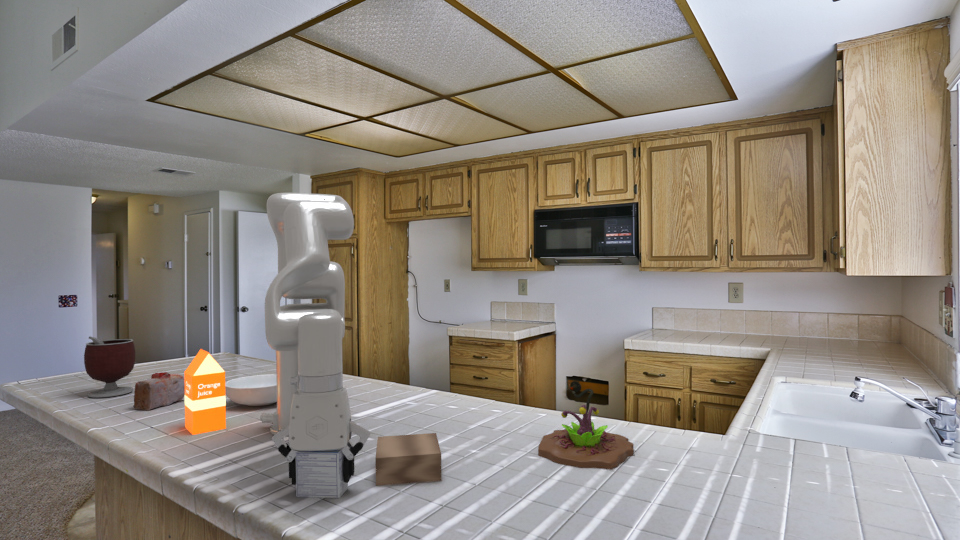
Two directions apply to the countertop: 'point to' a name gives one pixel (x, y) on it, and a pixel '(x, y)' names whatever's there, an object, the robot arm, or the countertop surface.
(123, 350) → the mate gourd
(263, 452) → the countertop surface
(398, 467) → the walnut block
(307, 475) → the medicine box
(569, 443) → the plant
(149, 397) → the food item
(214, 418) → the orange juice
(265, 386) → the serving bowl
